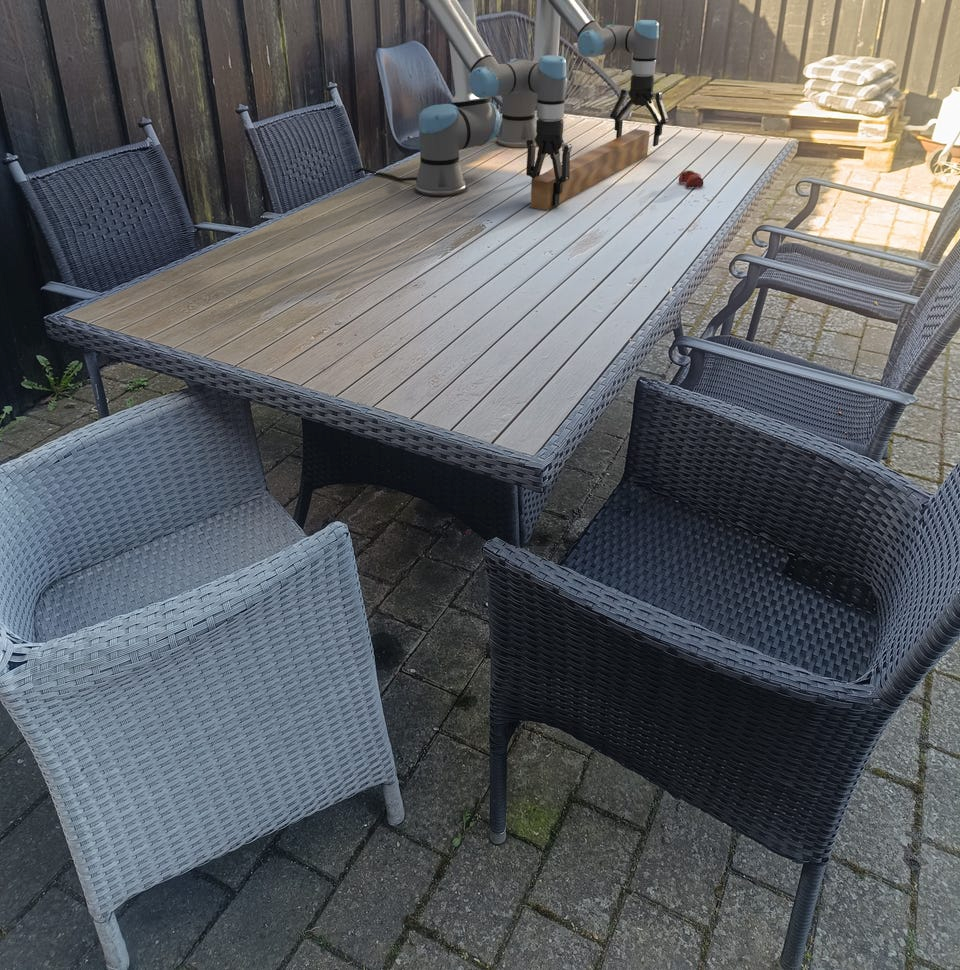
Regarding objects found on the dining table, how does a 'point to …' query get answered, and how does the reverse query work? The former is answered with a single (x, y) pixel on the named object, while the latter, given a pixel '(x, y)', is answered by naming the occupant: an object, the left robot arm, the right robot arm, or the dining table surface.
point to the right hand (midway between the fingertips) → (636, 143)
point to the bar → (591, 168)
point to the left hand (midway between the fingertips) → (546, 203)
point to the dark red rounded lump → (691, 179)
